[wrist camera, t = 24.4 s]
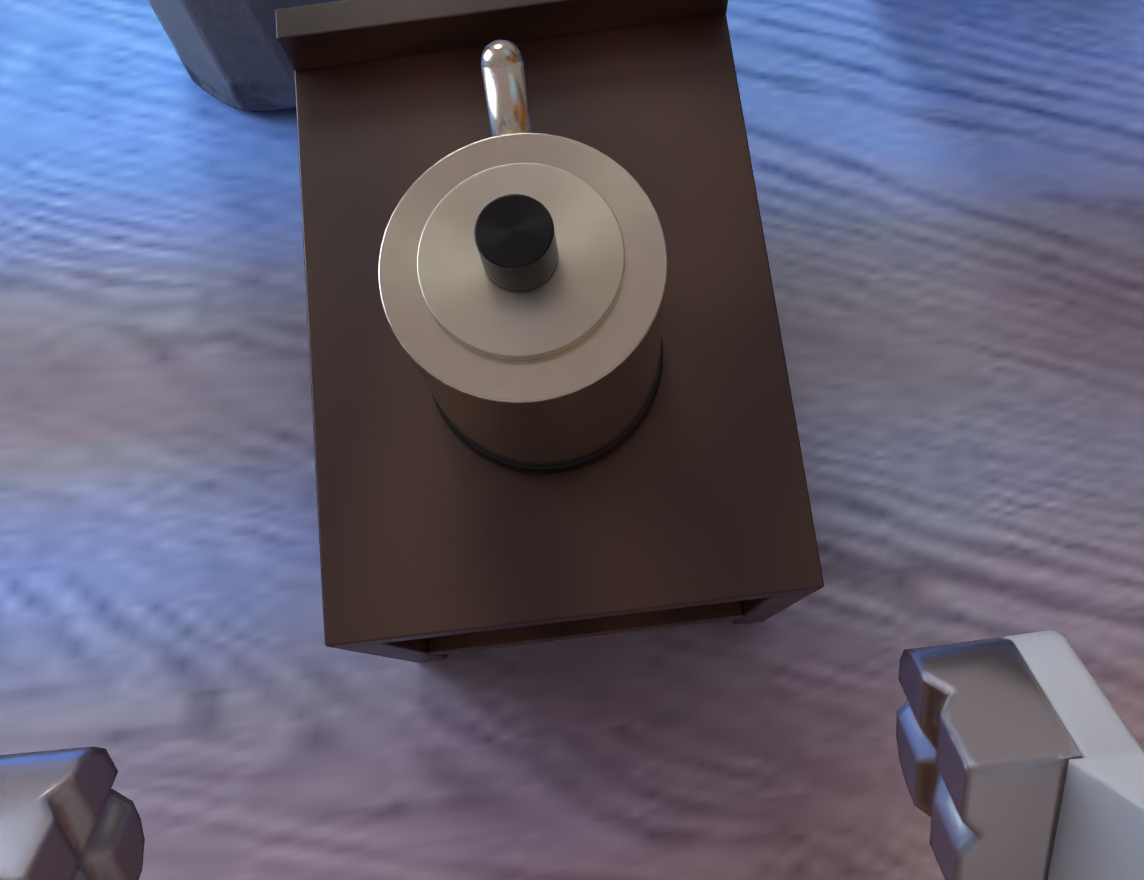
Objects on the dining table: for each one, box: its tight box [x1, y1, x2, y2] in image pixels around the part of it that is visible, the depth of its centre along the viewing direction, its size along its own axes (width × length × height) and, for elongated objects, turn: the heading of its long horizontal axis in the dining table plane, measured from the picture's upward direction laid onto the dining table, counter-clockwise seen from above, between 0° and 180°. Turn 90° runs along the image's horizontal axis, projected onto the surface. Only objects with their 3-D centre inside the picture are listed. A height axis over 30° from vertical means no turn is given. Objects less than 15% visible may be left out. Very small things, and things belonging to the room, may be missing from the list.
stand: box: [275, 0, 824, 662], centre depth 34 cm, size 13×18×14 cm
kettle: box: [378, 40, 668, 474], centre depth 25 cm, size 6×9×8 cm
